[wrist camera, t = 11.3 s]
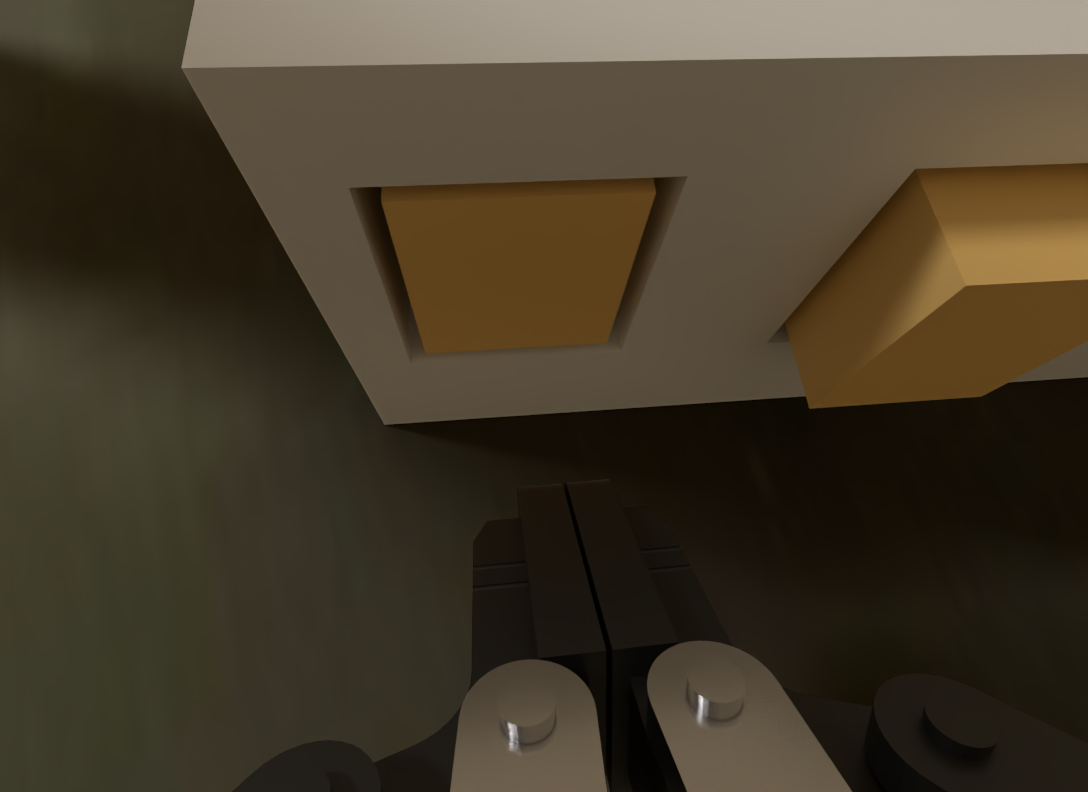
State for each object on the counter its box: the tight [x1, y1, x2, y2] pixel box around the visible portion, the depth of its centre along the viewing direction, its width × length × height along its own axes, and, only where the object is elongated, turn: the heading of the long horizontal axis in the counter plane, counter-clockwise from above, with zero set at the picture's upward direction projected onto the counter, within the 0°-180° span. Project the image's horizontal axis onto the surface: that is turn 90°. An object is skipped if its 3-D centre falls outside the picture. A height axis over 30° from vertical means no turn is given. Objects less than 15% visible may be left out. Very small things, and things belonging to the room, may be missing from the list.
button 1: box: [381, 178, 656, 354], centre depth 12 cm, size 4×3×5 cm
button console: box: [181, 0, 1088, 425], centre depth 15 cm, size 26×11×12 cm, turn 95°
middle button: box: [785, 163, 1088, 409], centre depth 12 cm, size 4×3×5 cm
